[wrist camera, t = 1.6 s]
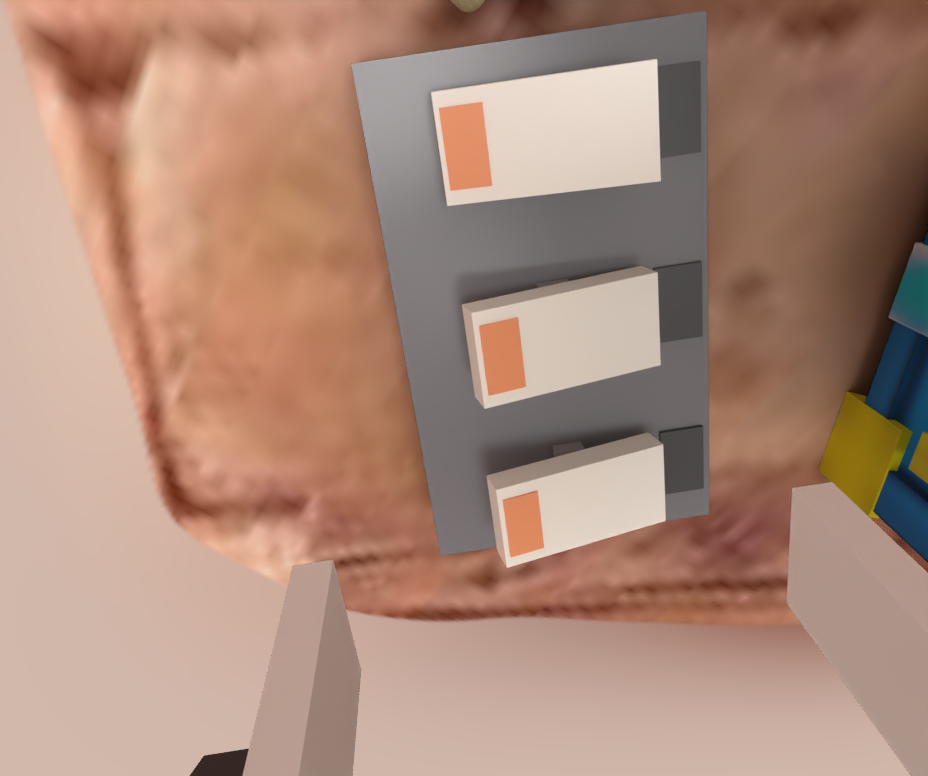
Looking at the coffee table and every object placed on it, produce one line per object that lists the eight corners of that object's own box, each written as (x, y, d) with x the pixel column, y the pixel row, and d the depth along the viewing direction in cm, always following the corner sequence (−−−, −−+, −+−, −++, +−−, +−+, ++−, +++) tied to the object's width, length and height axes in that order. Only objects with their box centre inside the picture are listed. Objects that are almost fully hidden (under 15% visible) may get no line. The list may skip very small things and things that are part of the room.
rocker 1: (652, 58, 23) (657, 58, 22) (656, 174, 25) (660, 181, 23) (438, 90, 24) (430, 92, 23) (453, 198, 26) (446, 206, 25)
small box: (645, 430, 30) (664, 445, 29) (648, 504, 31) (667, 522, 30) (484, 473, 29) (496, 491, 27) (495, 548, 30) (507, 569, 29)
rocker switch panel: (667, 19, 28) (715, 8, 24) (678, 469, 36) (715, 522, 32) (358, 65, 28) (349, 63, 24) (437, 507, 36) (441, 565, 31)
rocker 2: (638, 264, 27) (659, 272, 26) (642, 353, 29) (661, 365, 27) (460, 302, 26) (472, 313, 25) (473, 394, 27) (485, 409, 26)
